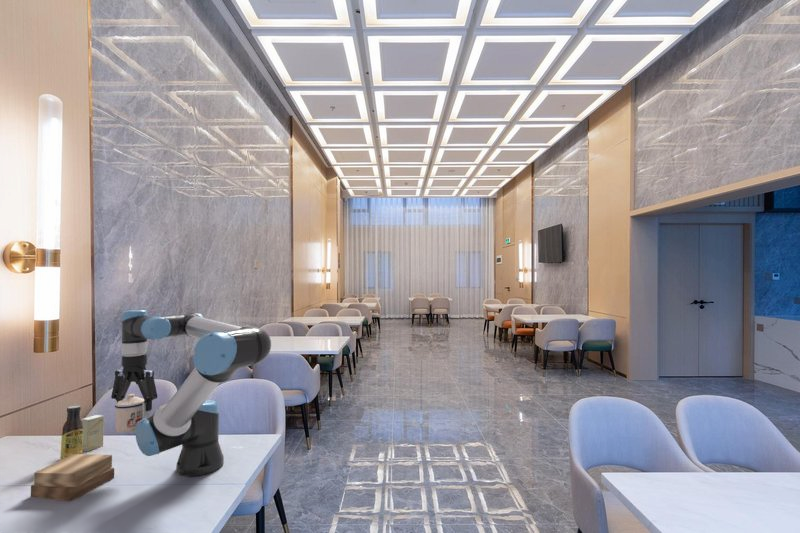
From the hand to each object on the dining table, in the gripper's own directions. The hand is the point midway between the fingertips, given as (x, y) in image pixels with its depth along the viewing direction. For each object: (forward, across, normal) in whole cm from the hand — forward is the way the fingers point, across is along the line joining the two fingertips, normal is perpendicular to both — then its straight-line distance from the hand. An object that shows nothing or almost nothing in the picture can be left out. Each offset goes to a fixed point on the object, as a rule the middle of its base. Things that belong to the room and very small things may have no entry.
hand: (134, 419), depth 146 cm
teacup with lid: (+3, 0, 0) cm, 3 cm away
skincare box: (+18, +33, -15) cm, 41 cm away
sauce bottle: (+18, +29, -3) cm, 34 cm away
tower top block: (+14, +10, +12) cm, 22 cm away
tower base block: (+18, +10, +13) cm, 25 cm away
